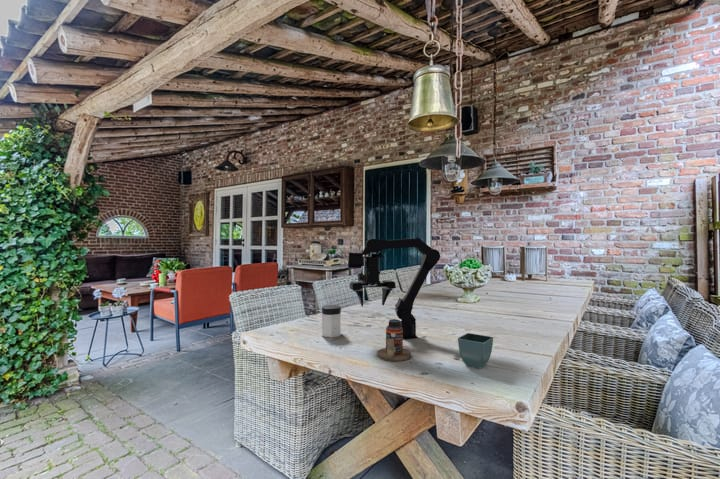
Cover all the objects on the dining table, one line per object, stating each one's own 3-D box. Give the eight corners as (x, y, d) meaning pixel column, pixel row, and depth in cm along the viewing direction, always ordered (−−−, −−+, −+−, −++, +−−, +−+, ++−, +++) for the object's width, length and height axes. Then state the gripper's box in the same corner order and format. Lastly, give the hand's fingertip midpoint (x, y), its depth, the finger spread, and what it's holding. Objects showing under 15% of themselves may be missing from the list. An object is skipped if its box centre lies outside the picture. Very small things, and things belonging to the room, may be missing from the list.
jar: (326, 338, 142) (326, 309, 142) (317, 334, 149) (317, 306, 149) (345, 335, 147) (345, 307, 147) (335, 331, 154) (335, 304, 154)
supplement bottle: (396, 356, 118) (396, 323, 117) (382, 352, 121) (382, 320, 121) (406, 352, 122) (406, 320, 122) (392, 348, 126) (392, 317, 126)
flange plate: (382, 348, 129) (382, 329, 129) (414, 351, 125) (414, 332, 125) (372, 359, 117) (372, 339, 117) (407, 363, 114) (407, 342, 114)
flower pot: (467, 358, 119) (467, 332, 118) (493, 364, 113) (493, 336, 113) (457, 365, 112) (457, 338, 112) (484, 372, 106) (484, 343, 106)
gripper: (386, 266, 155) (386, 301, 155) (346, 267, 150) (346, 303, 150) (396, 268, 144) (396, 305, 144) (352, 269, 139) (353, 308, 139)
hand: (372, 305), depth 145 cm, fingers open, 9 cm apart
